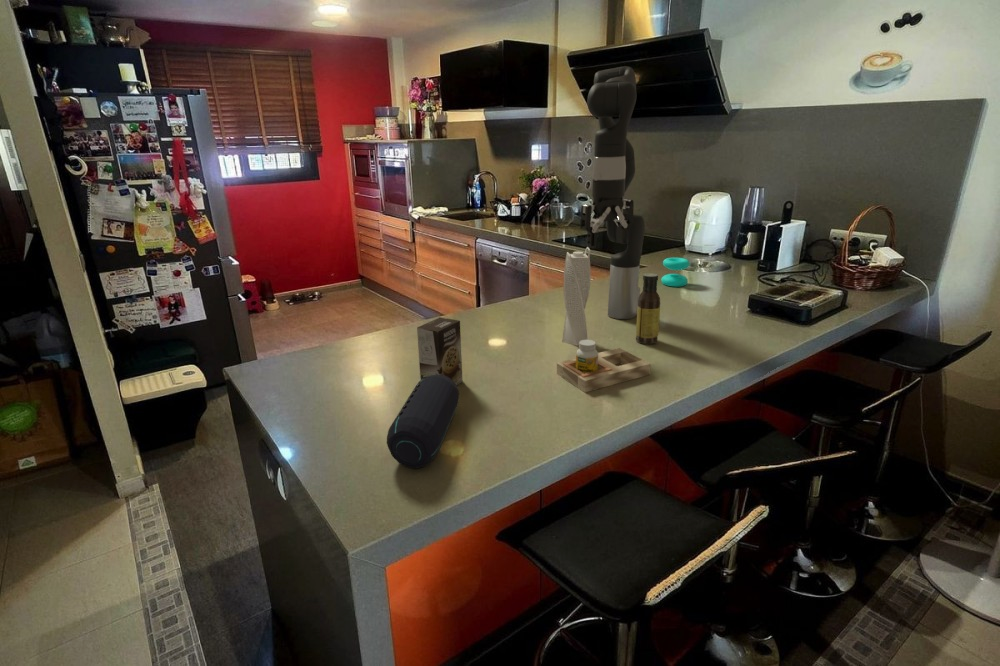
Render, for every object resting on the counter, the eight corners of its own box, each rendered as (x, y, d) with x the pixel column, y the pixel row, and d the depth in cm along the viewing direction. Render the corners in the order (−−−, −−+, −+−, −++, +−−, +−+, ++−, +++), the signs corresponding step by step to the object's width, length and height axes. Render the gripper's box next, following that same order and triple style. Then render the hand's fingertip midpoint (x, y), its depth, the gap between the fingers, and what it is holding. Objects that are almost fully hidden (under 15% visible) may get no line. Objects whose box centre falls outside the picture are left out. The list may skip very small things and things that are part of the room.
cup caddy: (618, 358, 144) (619, 346, 143) (649, 374, 134) (650, 362, 133) (556, 373, 135) (556, 361, 134) (584, 392, 125) (584, 379, 124)
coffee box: (441, 396, 125) (437, 331, 119) (420, 389, 128) (415, 327, 122) (464, 381, 132) (461, 320, 126) (443, 375, 135) (439, 315, 130)
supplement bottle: (598, 375, 134) (600, 339, 131) (595, 384, 129) (597, 347, 126) (577, 372, 136) (578, 337, 132) (573, 381, 131) (574, 345, 128)
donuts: (660, 256, 214) (685, 256, 213) (658, 281, 217) (682, 280, 217) (667, 262, 204) (693, 262, 204) (665, 287, 208) (690, 287, 208)
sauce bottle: (662, 342, 154) (668, 275, 147) (647, 346, 151) (653, 278, 144) (645, 335, 159) (650, 270, 152) (630, 340, 156) (635, 274, 149)
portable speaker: (419, 408, 120) (416, 367, 116) (463, 410, 119) (461, 369, 115) (382, 474, 97) (377, 426, 93) (436, 478, 95) (432, 429, 92)
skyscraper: (594, 341, 156) (598, 246, 146) (579, 348, 151) (582, 250, 141) (571, 334, 161) (574, 243, 151) (557, 341, 156) (559, 247, 146)
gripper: (622, 173, 130) (619, 239, 136) (574, 177, 124) (573, 246, 130) (643, 175, 124) (639, 244, 130) (594, 180, 118) (592, 252, 124)
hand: (606, 245), depth 130 cm, fingers open, 8 cm apart
